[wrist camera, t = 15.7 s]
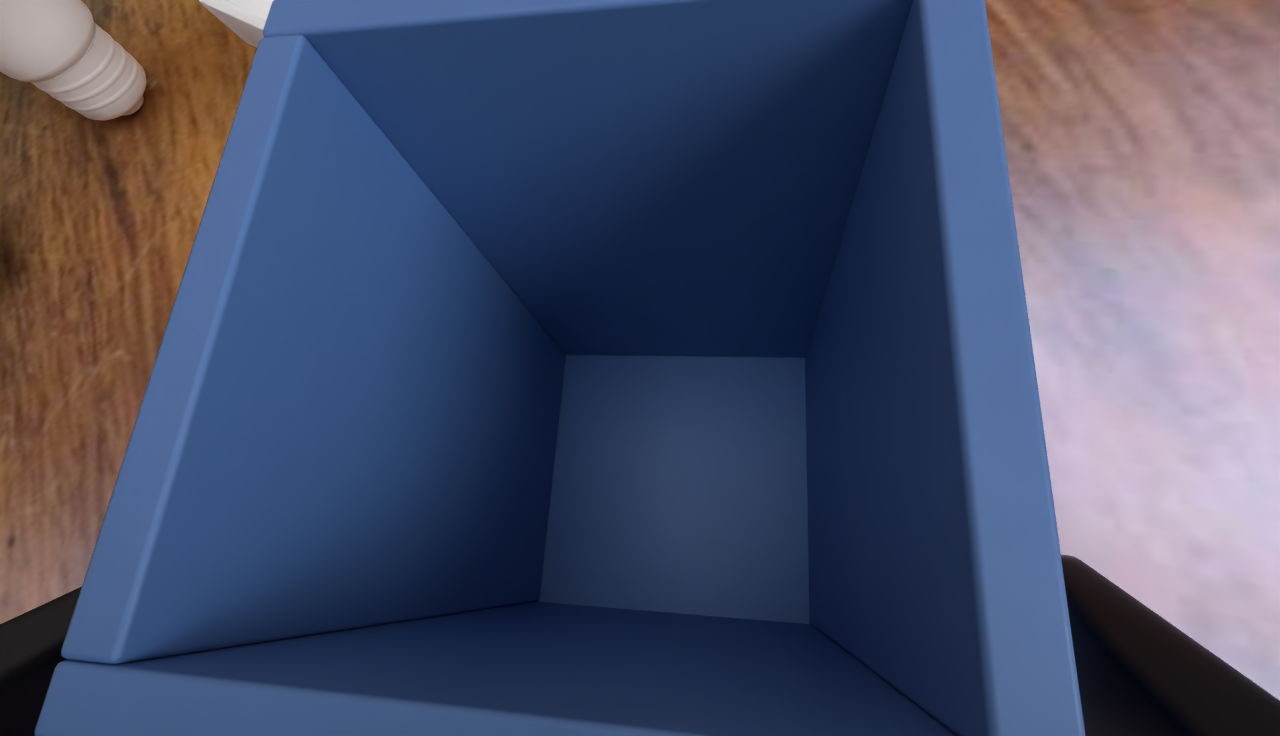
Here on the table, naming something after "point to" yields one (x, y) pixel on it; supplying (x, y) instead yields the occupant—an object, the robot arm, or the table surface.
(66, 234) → the table surface
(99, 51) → the lightbulb
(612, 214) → the upper bin
